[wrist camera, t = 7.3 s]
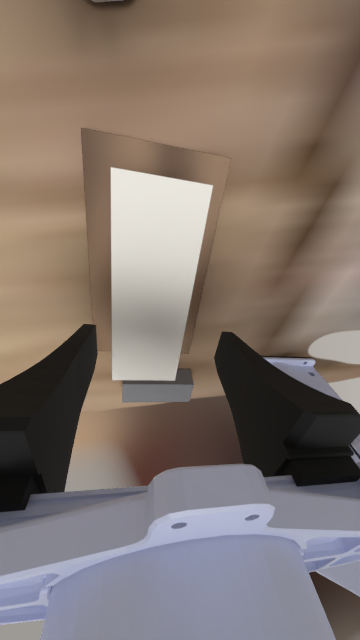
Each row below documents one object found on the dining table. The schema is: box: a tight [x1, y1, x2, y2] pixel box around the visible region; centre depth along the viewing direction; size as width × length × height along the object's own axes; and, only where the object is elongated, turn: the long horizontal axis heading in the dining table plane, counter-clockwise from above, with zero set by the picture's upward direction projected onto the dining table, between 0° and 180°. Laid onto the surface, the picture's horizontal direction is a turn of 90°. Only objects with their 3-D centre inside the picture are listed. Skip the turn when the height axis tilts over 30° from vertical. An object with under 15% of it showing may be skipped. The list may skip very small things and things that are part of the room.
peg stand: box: [81, 128, 231, 354], centre depth 19 cm, size 10×18×5 cm, turn 171°
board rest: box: [122, 369, 194, 402], centre depth 27 cm, size 8×3×2 cm, turn 81°
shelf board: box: [111, 167, 213, 381], centre depth 15 cm, size 14×5×2 cm, turn 171°
